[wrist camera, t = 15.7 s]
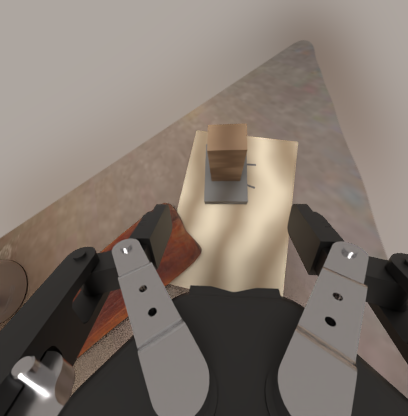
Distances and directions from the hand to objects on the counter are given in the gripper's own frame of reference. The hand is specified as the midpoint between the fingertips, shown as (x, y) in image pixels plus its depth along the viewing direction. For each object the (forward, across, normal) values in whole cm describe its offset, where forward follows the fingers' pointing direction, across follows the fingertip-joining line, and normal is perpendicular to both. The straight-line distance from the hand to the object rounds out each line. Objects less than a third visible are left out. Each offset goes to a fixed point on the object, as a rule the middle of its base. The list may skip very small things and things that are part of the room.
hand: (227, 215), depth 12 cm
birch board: (+14, -1, +8) cm, 16 cm away
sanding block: (+16, 0, +3) cm, 17 cm away
